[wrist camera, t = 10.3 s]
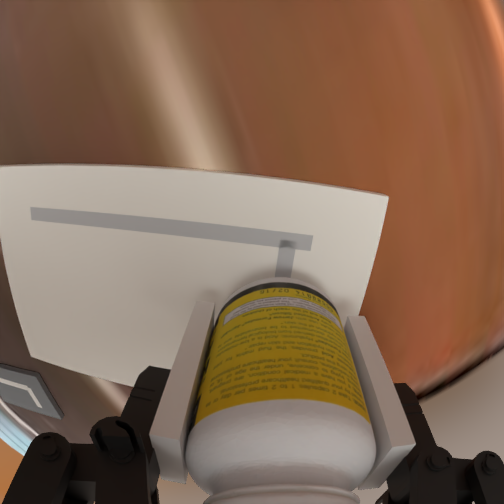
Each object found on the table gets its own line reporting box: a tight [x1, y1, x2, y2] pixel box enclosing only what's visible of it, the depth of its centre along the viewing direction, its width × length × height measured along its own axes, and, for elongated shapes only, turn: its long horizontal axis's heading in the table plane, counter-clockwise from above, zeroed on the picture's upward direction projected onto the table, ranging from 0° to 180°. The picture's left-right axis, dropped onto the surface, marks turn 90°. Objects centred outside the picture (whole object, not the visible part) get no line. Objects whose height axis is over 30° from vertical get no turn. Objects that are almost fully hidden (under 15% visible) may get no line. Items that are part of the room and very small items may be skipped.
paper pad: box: [0, 164, 389, 387], centre depth 15 cm, size 20×13×1 cm, turn 84°
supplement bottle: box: [185, 277, 376, 504], centre depth 9 cm, size 5×5×10 cm
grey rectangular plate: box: [0, 363, 64, 420], centre depth 20 cm, size 8×5×1 cm, turn 94°
